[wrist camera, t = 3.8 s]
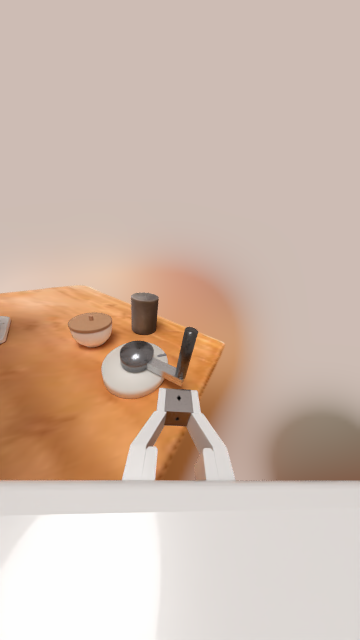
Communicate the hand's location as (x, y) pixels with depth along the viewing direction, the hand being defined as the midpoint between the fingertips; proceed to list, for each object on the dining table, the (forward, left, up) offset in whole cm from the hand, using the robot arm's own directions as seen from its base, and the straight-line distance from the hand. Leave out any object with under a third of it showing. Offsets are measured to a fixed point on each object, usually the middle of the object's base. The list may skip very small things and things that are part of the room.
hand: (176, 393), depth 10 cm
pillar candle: (-39, +11, -20) cm, 45 cm away
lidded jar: (-36, -6, -20) cm, 41 cm away
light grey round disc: (-20, +3, -20) cm, 28 cm away
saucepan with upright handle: (-16, +5, -16) cm, 23 cm away
